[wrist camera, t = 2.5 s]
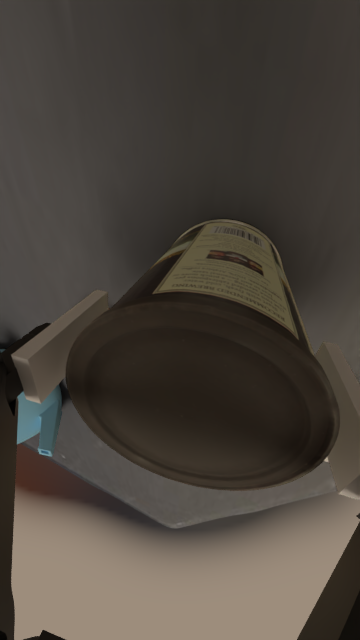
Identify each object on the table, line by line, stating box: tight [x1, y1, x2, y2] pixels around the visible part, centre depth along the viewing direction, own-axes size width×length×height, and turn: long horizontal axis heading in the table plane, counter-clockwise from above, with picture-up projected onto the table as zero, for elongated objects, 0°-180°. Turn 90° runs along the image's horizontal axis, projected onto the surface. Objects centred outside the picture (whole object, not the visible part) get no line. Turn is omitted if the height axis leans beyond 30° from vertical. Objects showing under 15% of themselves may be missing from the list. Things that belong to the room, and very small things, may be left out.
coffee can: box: [66, 219, 340, 491], centre depth 15 cm, size 10×10×14 cm
